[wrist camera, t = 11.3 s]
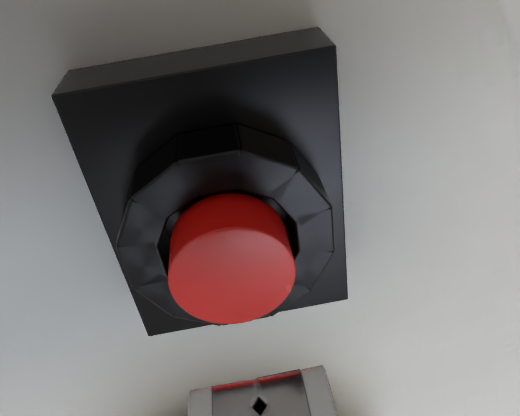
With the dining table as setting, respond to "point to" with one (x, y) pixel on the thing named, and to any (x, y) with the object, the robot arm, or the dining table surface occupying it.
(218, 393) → the robot arm
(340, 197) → the control block
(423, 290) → the dining table surface
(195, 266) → the button
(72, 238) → the dining table surface
